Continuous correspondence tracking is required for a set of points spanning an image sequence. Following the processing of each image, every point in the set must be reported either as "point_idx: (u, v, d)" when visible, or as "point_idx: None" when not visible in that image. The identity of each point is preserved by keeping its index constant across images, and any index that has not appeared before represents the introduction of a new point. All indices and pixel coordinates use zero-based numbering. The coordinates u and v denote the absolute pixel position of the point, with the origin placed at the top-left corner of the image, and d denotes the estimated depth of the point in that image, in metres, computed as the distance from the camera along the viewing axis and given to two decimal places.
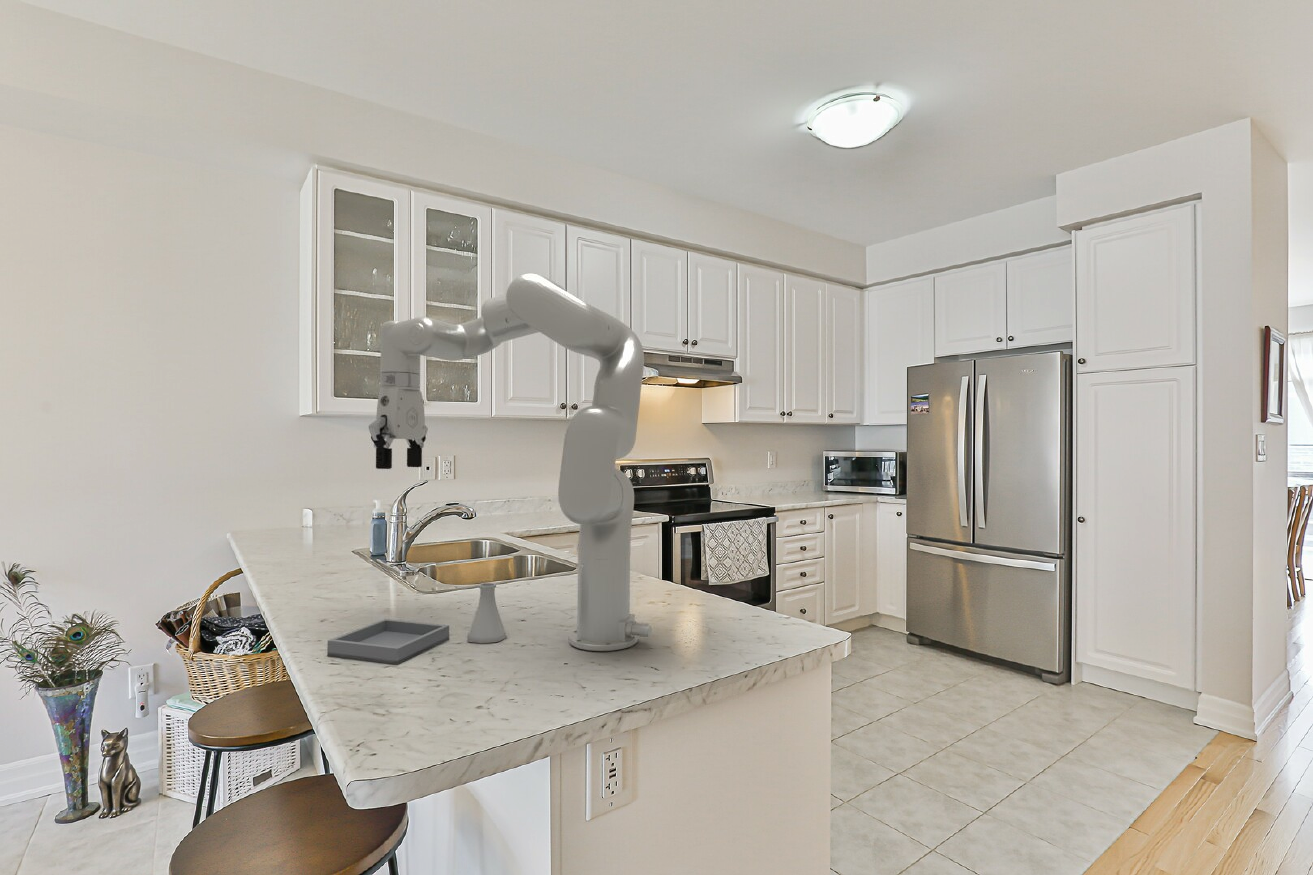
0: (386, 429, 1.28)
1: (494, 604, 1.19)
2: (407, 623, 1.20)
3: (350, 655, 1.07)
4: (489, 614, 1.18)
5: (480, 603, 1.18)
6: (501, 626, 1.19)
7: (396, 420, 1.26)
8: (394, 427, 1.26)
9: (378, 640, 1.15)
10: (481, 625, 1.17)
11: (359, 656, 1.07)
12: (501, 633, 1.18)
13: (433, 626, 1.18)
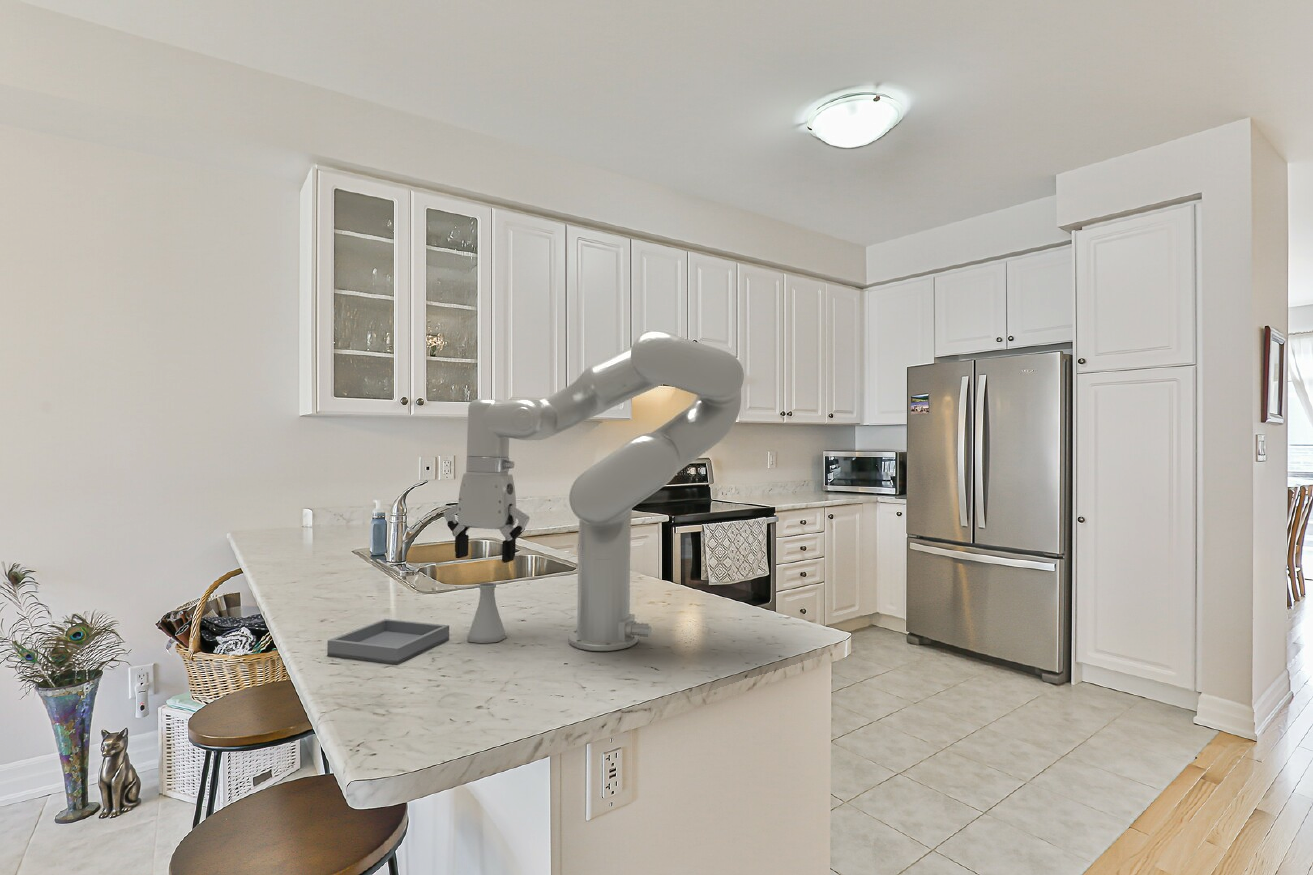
0: None
1: (494, 604, 1.19)
2: (407, 623, 1.20)
3: (350, 655, 1.07)
4: (489, 614, 1.18)
5: (479, 603, 1.18)
6: (501, 626, 1.19)
7: None
8: None
9: (378, 640, 1.15)
10: (481, 625, 1.17)
11: (359, 656, 1.07)
12: (501, 633, 1.18)
13: (433, 626, 1.18)
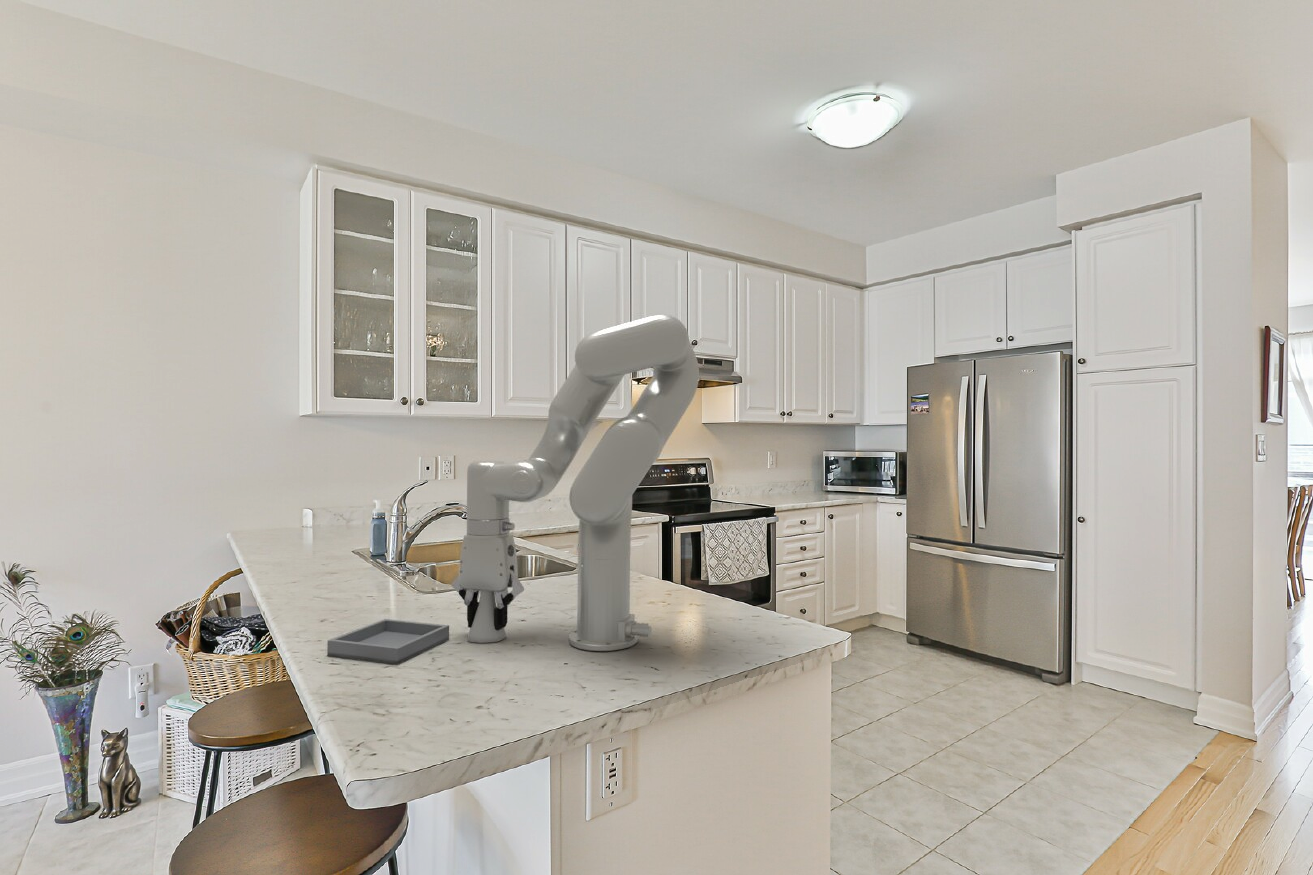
0: None
1: (494, 604, 1.19)
2: (407, 623, 1.20)
3: (350, 655, 1.07)
4: (489, 614, 1.18)
5: (479, 603, 1.18)
6: None
7: None
8: (517, 576, 1.20)
9: (378, 640, 1.15)
10: (481, 625, 1.17)
11: (359, 656, 1.07)
12: (501, 633, 1.18)
13: (433, 626, 1.18)
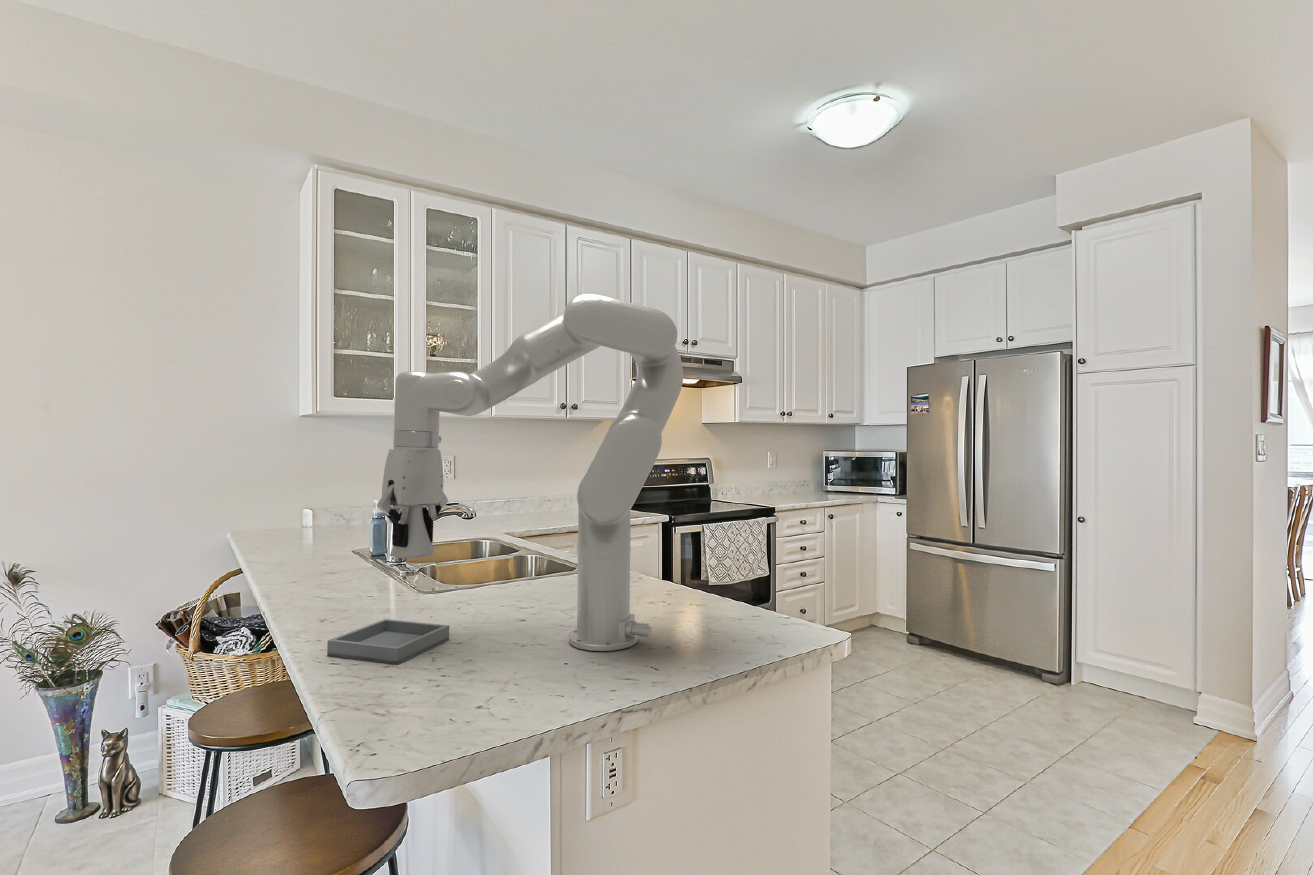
0: None
1: None
2: (407, 623, 1.20)
3: (350, 655, 1.07)
4: (425, 528, 1.15)
5: (416, 519, 1.14)
6: None
7: None
8: None
9: (378, 640, 1.15)
10: (423, 539, 1.14)
11: (359, 656, 1.07)
12: None
13: (433, 626, 1.18)
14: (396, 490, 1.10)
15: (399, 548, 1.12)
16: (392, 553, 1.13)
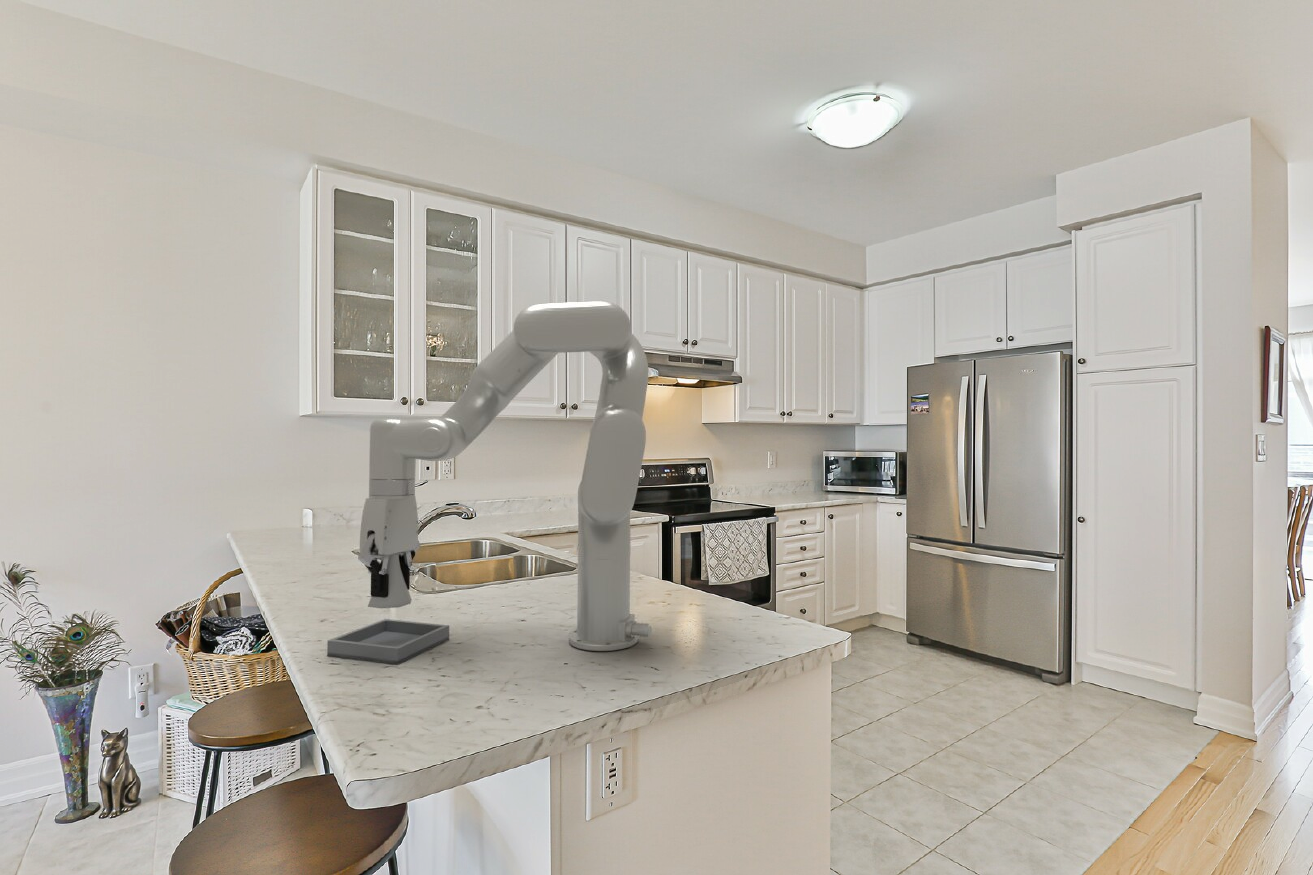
0: None
1: None
2: (407, 623, 1.20)
3: (350, 655, 1.07)
4: (402, 576, 1.14)
5: (394, 567, 1.13)
6: None
7: None
8: None
9: (378, 640, 1.15)
10: (403, 587, 1.13)
11: (359, 656, 1.07)
12: None
13: (433, 626, 1.18)
14: (378, 541, 1.08)
15: (379, 598, 1.11)
16: (370, 604, 1.11)
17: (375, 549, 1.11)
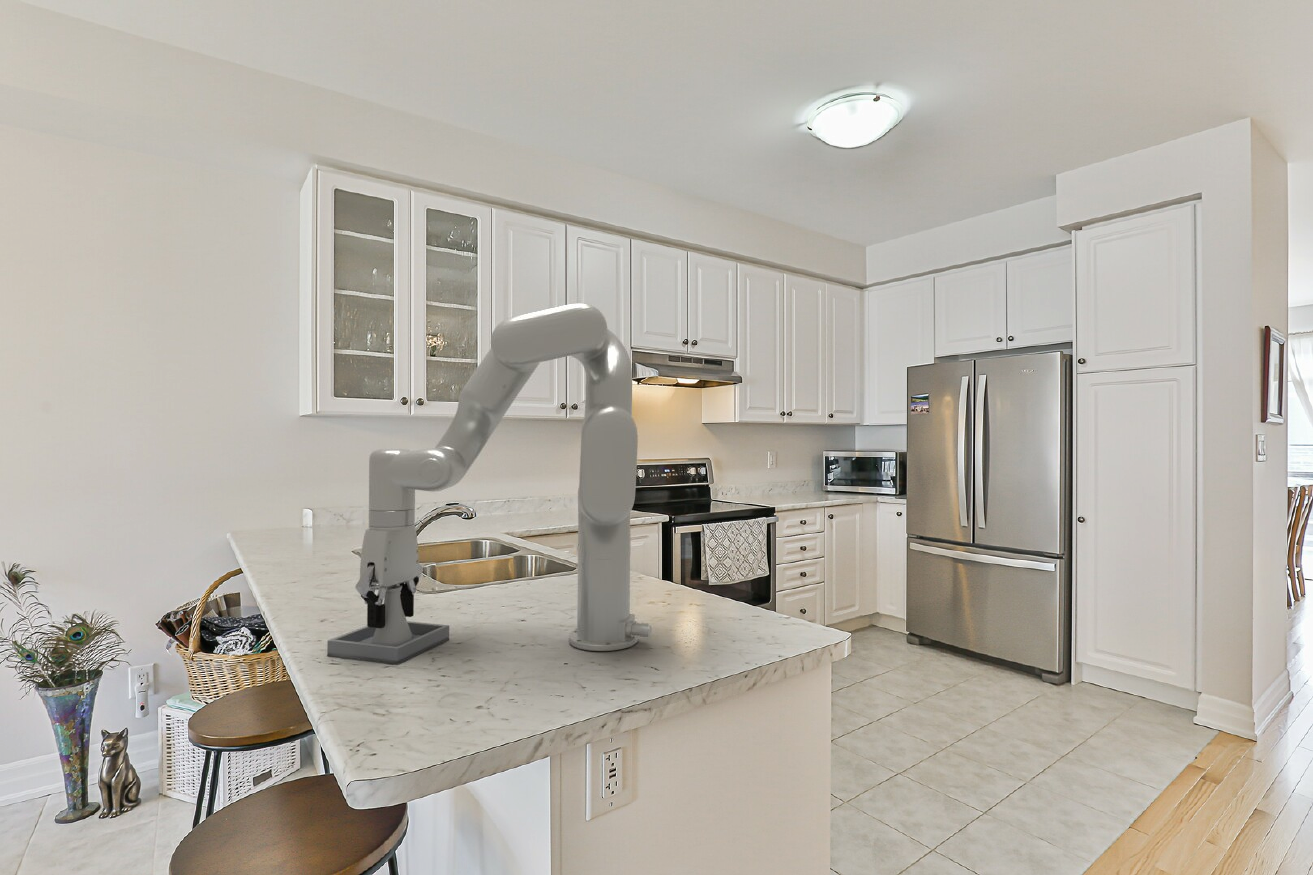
0: None
1: None
2: None
3: (350, 655, 1.07)
4: None
5: (396, 607, 1.13)
6: None
7: None
8: None
9: None
10: (404, 627, 1.13)
11: (359, 656, 1.07)
12: None
13: (433, 626, 1.18)
14: (378, 572, 1.08)
15: (380, 639, 1.11)
16: None
17: (375, 580, 1.11)
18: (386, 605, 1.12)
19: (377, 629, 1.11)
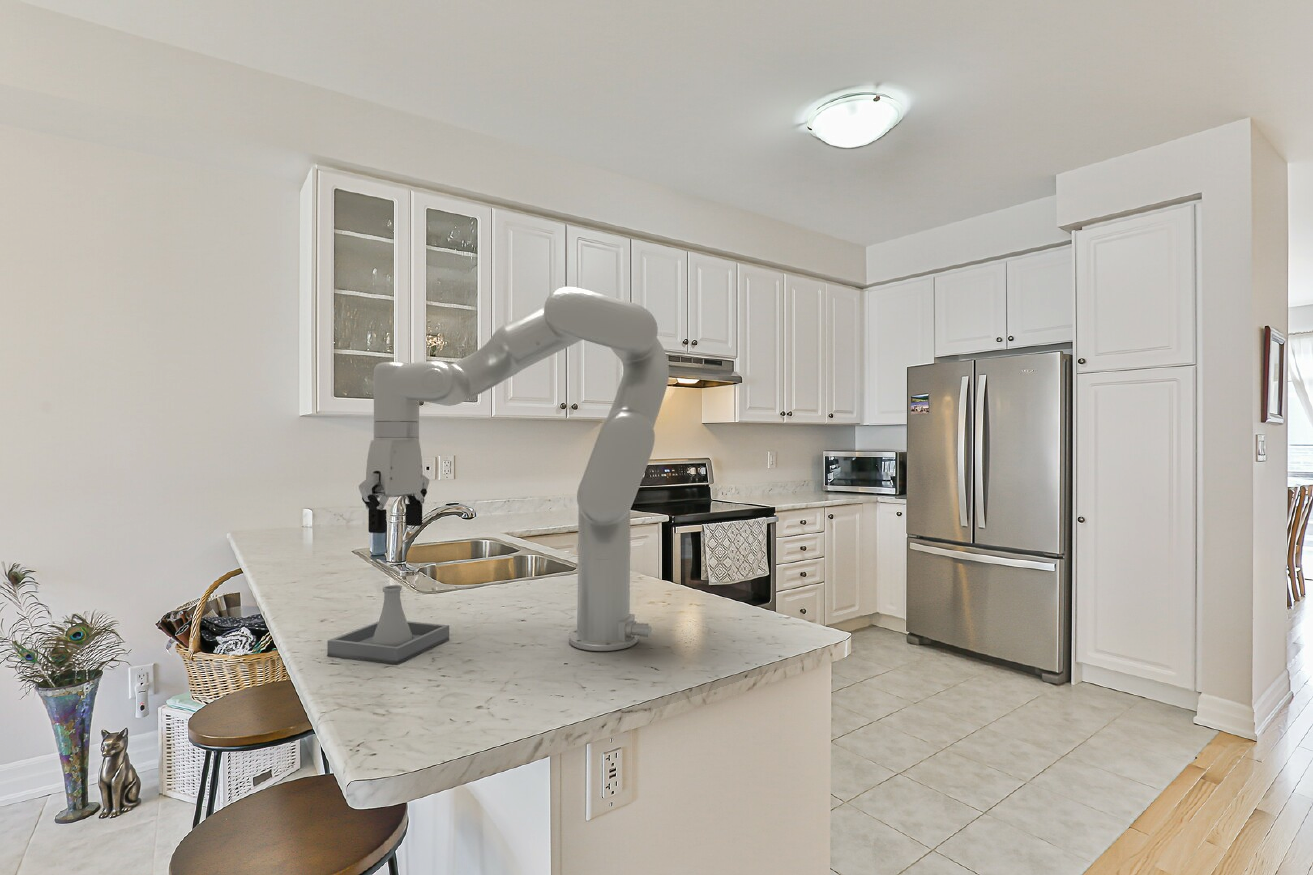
0: None
1: None
2: None
3: (350, 655, 1.07)
4: None
5: (396, 607, 1.13)
6: None
7: None
8: None
9: None
10: (404, 627, 1.13)
11: (359, 656, 1.07)
12: None
13: (433, 626, 1.18)
14: (383, 481, 1.10)
15: (380, 639, 1.11)
16: None
17: (381, 490, 1.12)
18: (386, 605, 1.12)
19: (377, 629, 1.11)
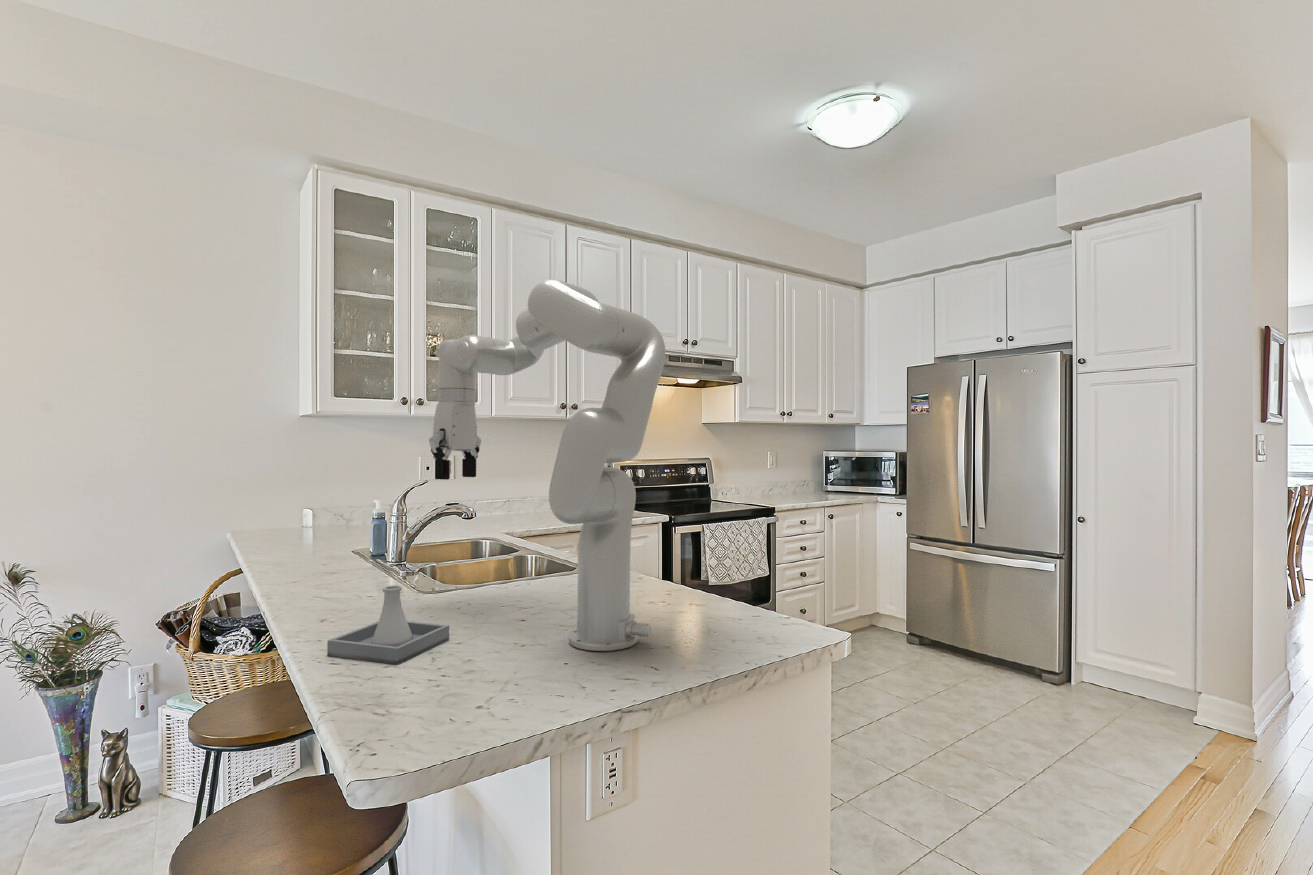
0: None
1: None
2: None
3: (350, 655, 1.07)
4: None
5: (396, 607, 1.13)
6: None
7: None
8: None
9: None
10: (404, 627, 1.13)
11: (359, 656, 1.07)
12: None
13: (433, 626, 1.18)
14: (448, 436, 1.34)
15: (380, 639, 1.11)
16: None
17: (445, 445, 1.36)
18: (386, 605, 1.12)
19: (377, 629, 1.11)
